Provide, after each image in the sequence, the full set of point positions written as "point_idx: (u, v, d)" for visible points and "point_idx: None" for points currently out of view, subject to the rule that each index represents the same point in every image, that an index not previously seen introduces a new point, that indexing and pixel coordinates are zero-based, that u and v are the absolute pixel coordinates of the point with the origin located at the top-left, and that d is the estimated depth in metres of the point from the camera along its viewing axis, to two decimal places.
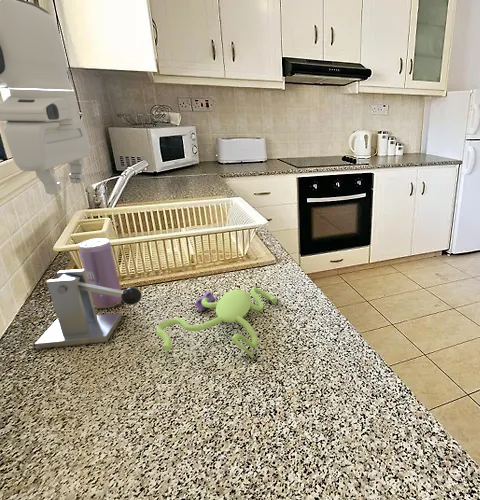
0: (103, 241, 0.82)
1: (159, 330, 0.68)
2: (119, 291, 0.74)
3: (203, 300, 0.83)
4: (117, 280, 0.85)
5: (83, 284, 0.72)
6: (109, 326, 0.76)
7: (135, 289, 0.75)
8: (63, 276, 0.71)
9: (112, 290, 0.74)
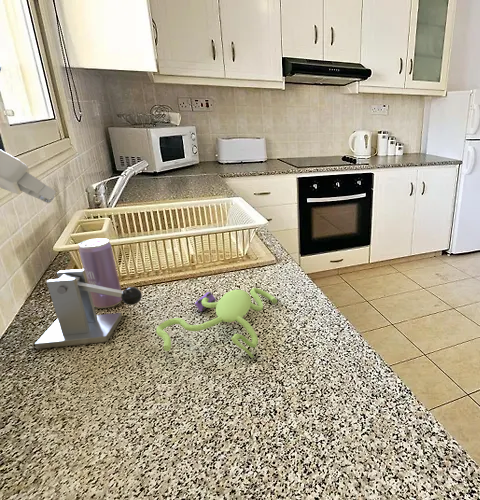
0: (103, 241, 0.82)
1: (159, 330, 0.68)
2: (119, 291, 0.74)
3: (203, 300, 0.83)
4: (117, 280, 0.85)
5: (83, 284, 0.72)
6: (109, 326, 0.76)
7: (135, 289, 0.75)
8: (63, 276, 0.71)
9: (112, 290, 0.74)
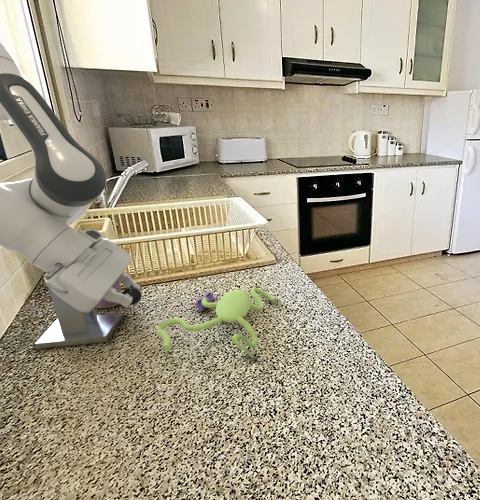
0: None
1: (159, 330, 0.68)
2: (119, 291, 0.74)
3: (203, 300, 0.83)
4: None
5: None
6: (109, 326, 0.76)
7: (135, 289, 0.75)
8: None
9: None
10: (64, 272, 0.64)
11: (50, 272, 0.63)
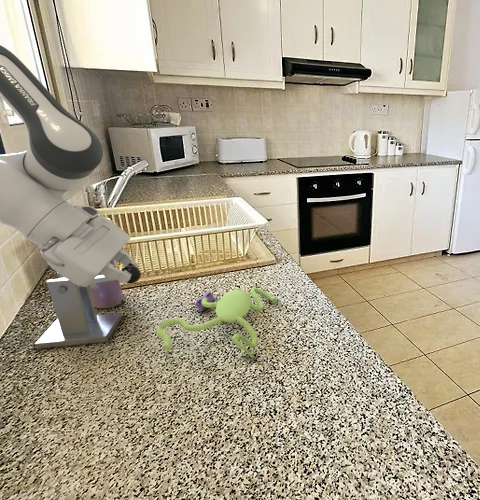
0: None
1: (159, 330, 0.68)
2: None
3: (203, 300, 0.83)
4: (117, 280, 0.85)
5: None
6: (109, 326, 0.76)
7: (130, 266, 0.73)
8: (60, 278, 0.71)
9: None
10: (60, 245, 0.62)
11: (46, 245, 0.61)
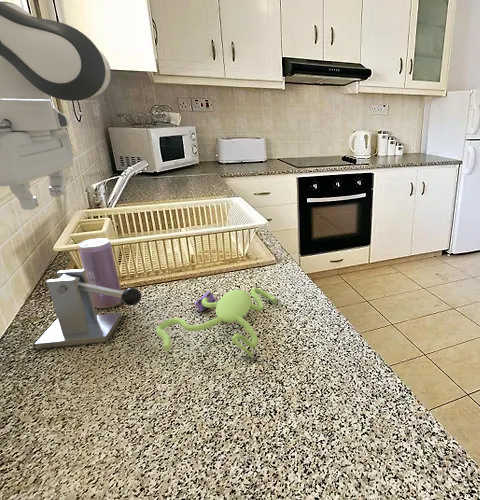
0: (103, 241, 0.82)
1: (159, 330, 0.68)
2: (119, 292, 0.74)
3: (203, 300, 0.83)
4: (117, 280, 0.85)
5: (83, 284, 0.72)
6: (109, 326, 0.76)
7: (135, 290, 0.75)
8: (63, 276, 0.71)
9: (112, 290, 0.74)
10: (9, 135, 0.55)
11: None
